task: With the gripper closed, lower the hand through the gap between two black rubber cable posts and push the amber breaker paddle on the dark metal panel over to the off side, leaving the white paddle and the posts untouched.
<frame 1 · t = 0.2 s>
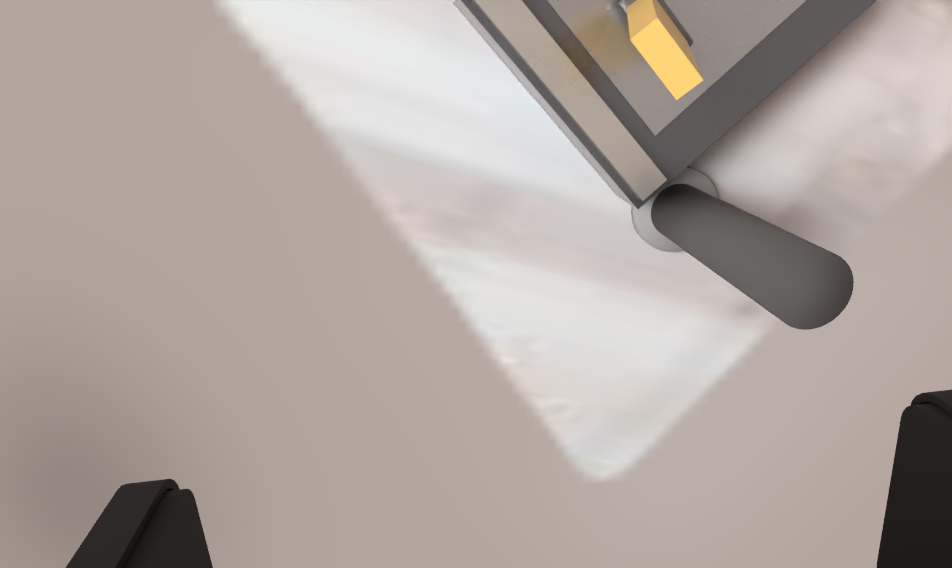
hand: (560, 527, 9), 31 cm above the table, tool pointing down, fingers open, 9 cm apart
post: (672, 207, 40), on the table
paddle amber: (660, 36, 29), point 8 cm above the table, hinge at 20.0°
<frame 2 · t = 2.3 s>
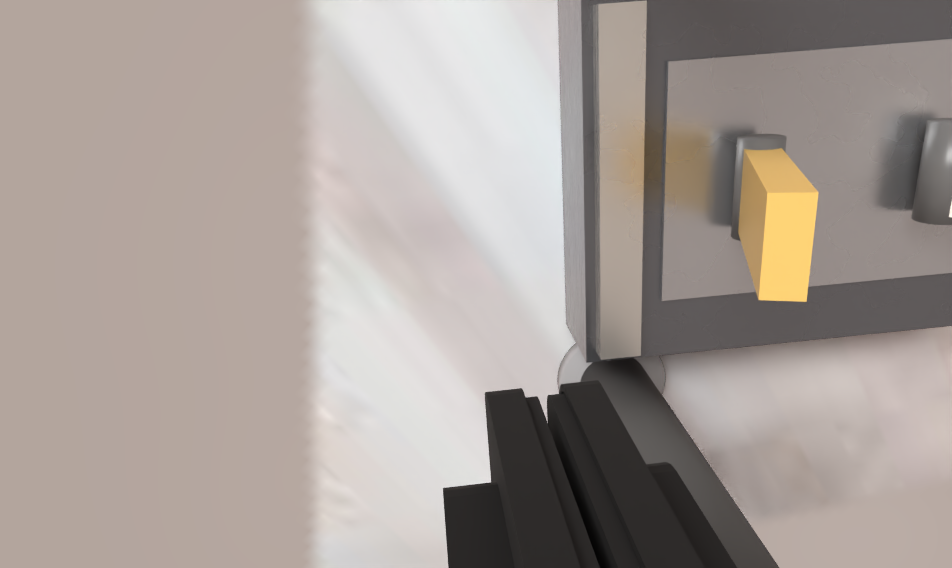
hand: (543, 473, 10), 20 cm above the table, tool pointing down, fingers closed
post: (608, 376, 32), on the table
paddle amber: (768, 210, 21), point 8 cm above the table, hinge at 20.0°
breaker panel: (744, 158, 29), on the table
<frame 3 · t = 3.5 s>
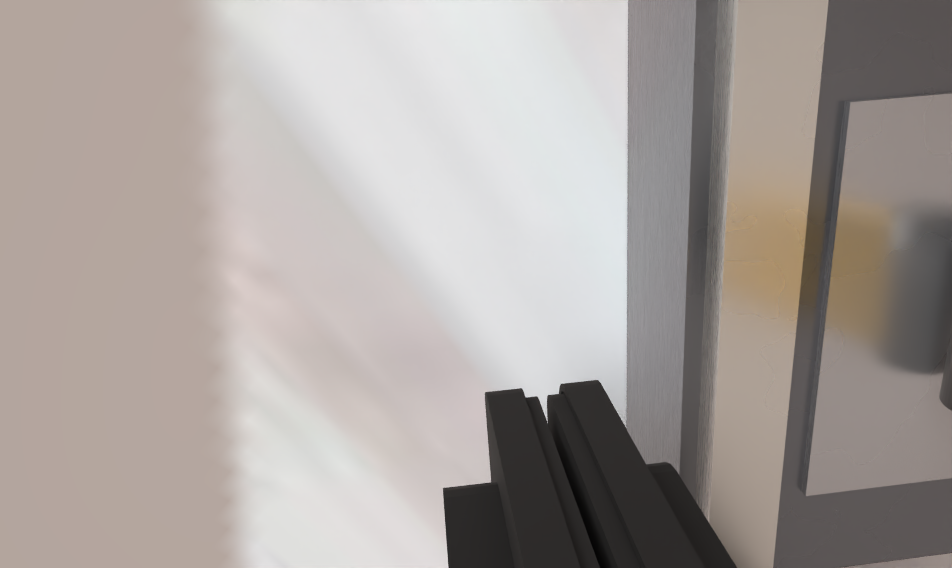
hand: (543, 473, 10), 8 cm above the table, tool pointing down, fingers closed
breaker panel: (911, 243, 18), on the table
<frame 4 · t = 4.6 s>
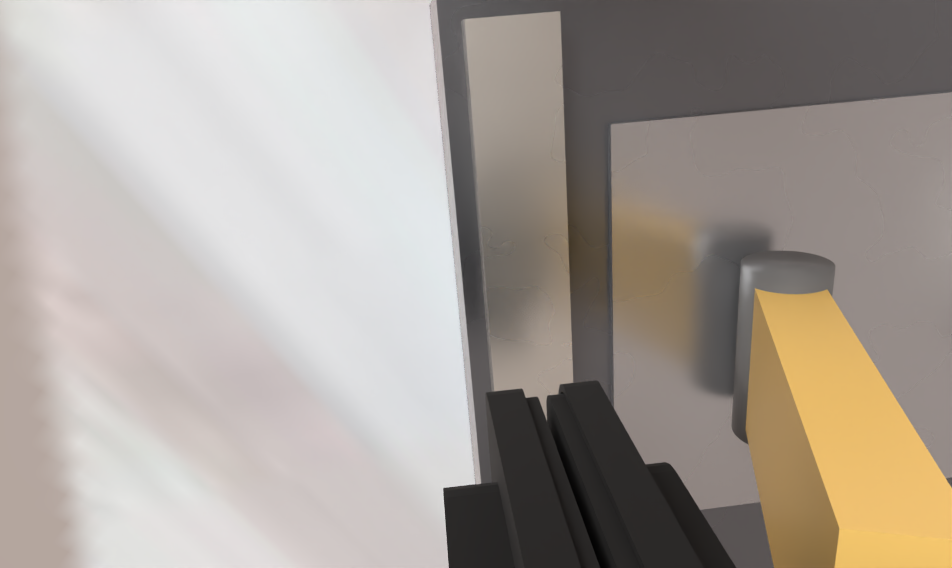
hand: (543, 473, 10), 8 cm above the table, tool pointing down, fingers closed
paddle amber: (811, 439, 10), point 8 cm above the table, hinge at 19.9°, touching gripper
breaker panel: (749, 259, 18), on the table
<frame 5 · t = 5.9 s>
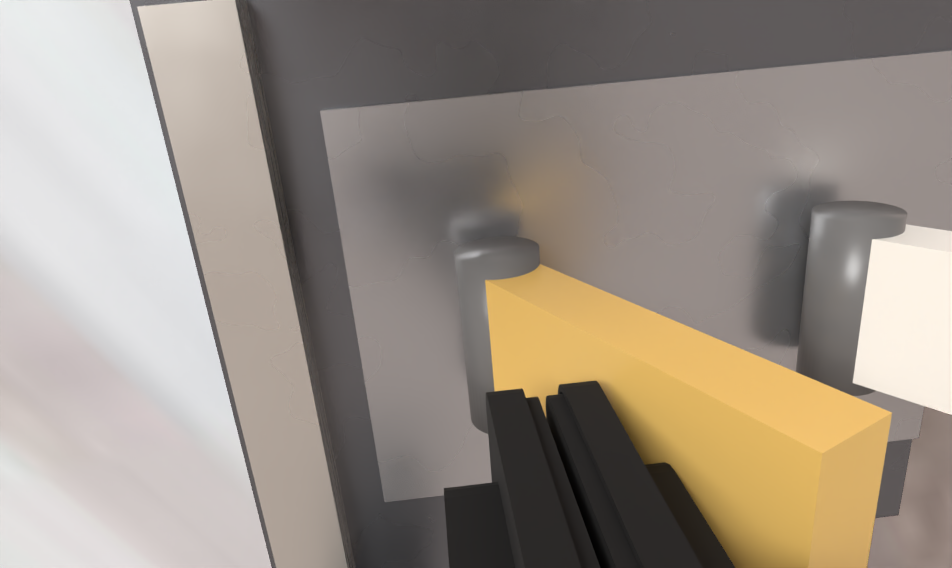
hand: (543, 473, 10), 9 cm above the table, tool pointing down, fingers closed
paddle amber: (608, 401, 11), point 8 cm above the table, hinge at -26.1°, touching gripper
breaker panel: (553, 244, 18), on the table
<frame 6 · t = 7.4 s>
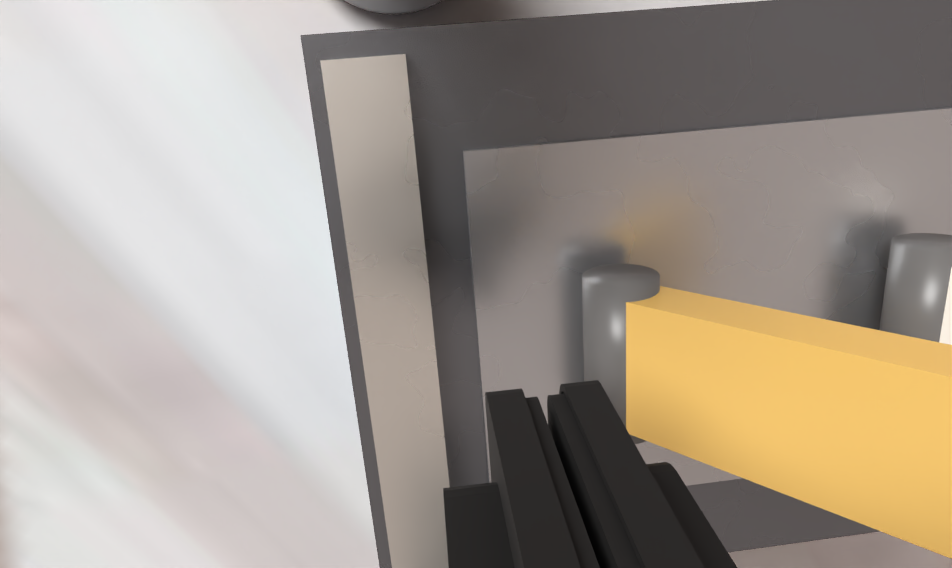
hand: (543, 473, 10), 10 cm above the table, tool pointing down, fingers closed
paddle amber: (762, 395, 12), point 8 cm above the table, hinge at -39.1°
breaker panel: (631, 271, 20), on the table
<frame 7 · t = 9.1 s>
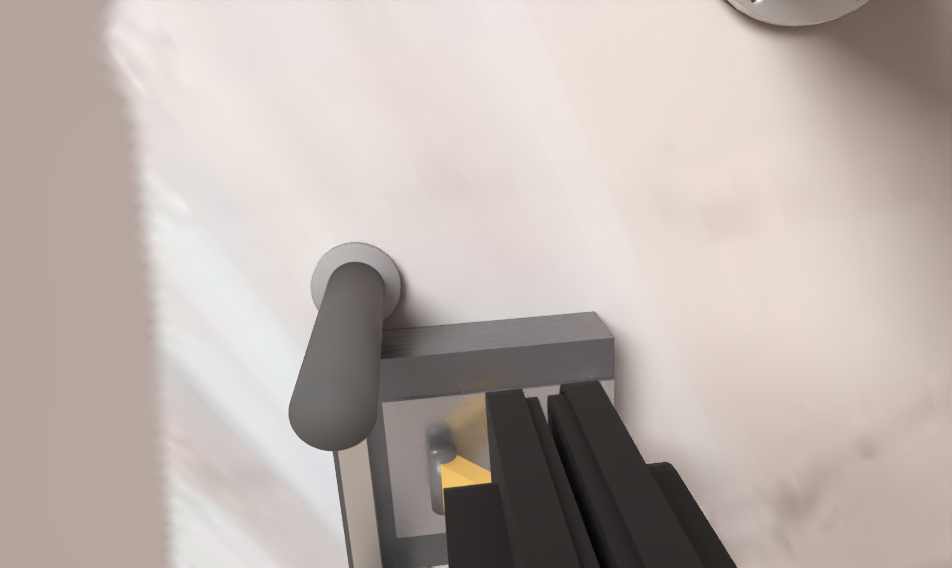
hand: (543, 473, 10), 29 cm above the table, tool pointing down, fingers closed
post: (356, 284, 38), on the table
paddle amber: (484, 501, 35), point 8 cm above the table, hinge at -39.6°
breaker panel: (469, 425, 42), on the table
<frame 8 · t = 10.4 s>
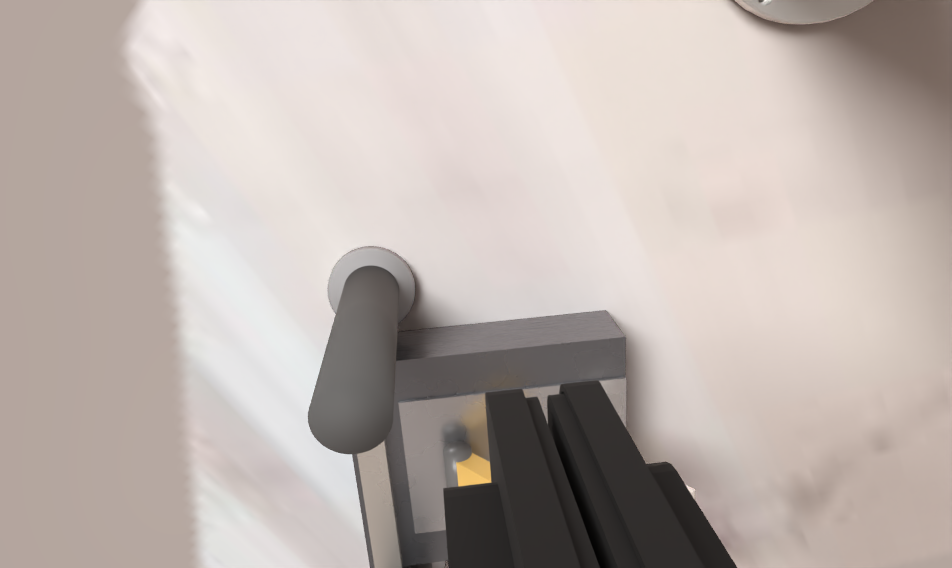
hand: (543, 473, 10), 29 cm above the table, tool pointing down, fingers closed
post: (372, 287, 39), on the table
paddle amber: (499, 498, 36), point 8 cm above the table, hinge at -39.7°
paddle white: (624, 485, 36), point 8 cm above the table, hinge at -35.0°
breaker panel: (484, 423, 43), on the table
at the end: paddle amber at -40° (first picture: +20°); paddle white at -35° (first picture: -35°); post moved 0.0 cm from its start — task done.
